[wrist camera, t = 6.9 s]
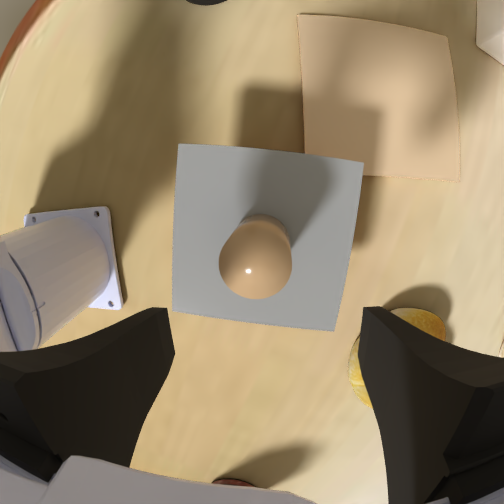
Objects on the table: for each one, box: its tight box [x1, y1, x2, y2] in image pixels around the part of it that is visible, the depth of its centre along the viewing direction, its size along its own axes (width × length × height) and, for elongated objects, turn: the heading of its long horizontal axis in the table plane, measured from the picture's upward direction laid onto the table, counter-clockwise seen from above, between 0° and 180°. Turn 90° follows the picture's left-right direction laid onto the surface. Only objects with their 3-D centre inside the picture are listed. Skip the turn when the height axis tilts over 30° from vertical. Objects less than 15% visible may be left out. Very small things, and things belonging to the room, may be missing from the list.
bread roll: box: [348, 308, 446, 408], centre depth 20 cm, size 8×9×4 cm
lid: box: [172, 144, 364, 331], centre depth 14 cm, size 9×9×4 cm
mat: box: [297, 14, 460, 182], centre depth 16 cm, size 11×11×1 cm
